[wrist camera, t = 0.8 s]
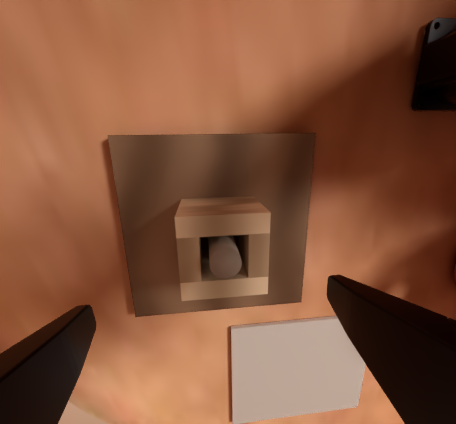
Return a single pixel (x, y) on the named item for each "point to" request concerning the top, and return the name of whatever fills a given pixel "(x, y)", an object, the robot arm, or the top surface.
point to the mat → (293, 369)
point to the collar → (222, 226)
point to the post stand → (210, 188)
